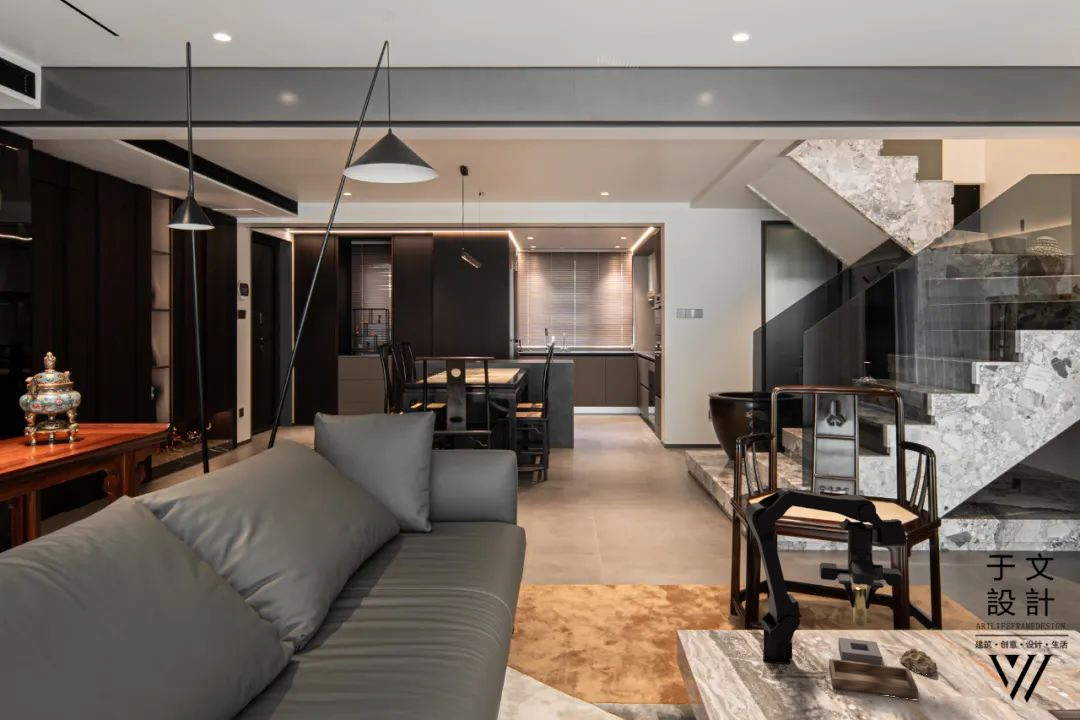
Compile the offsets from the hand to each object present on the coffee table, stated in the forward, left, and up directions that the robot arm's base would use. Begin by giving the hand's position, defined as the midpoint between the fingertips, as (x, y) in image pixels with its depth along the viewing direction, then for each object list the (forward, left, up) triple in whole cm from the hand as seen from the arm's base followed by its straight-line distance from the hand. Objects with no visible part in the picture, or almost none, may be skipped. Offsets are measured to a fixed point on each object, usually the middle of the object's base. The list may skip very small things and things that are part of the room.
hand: (859, 607), depth 175 cm
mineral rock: (+14, 0, -14) cm, 19 cm away
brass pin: (0, 0, -4) cm, 4 cm away
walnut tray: (+1, -13, -13) cm, 19 cm away
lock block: (0, 0, -13) cm, 13 cm away
